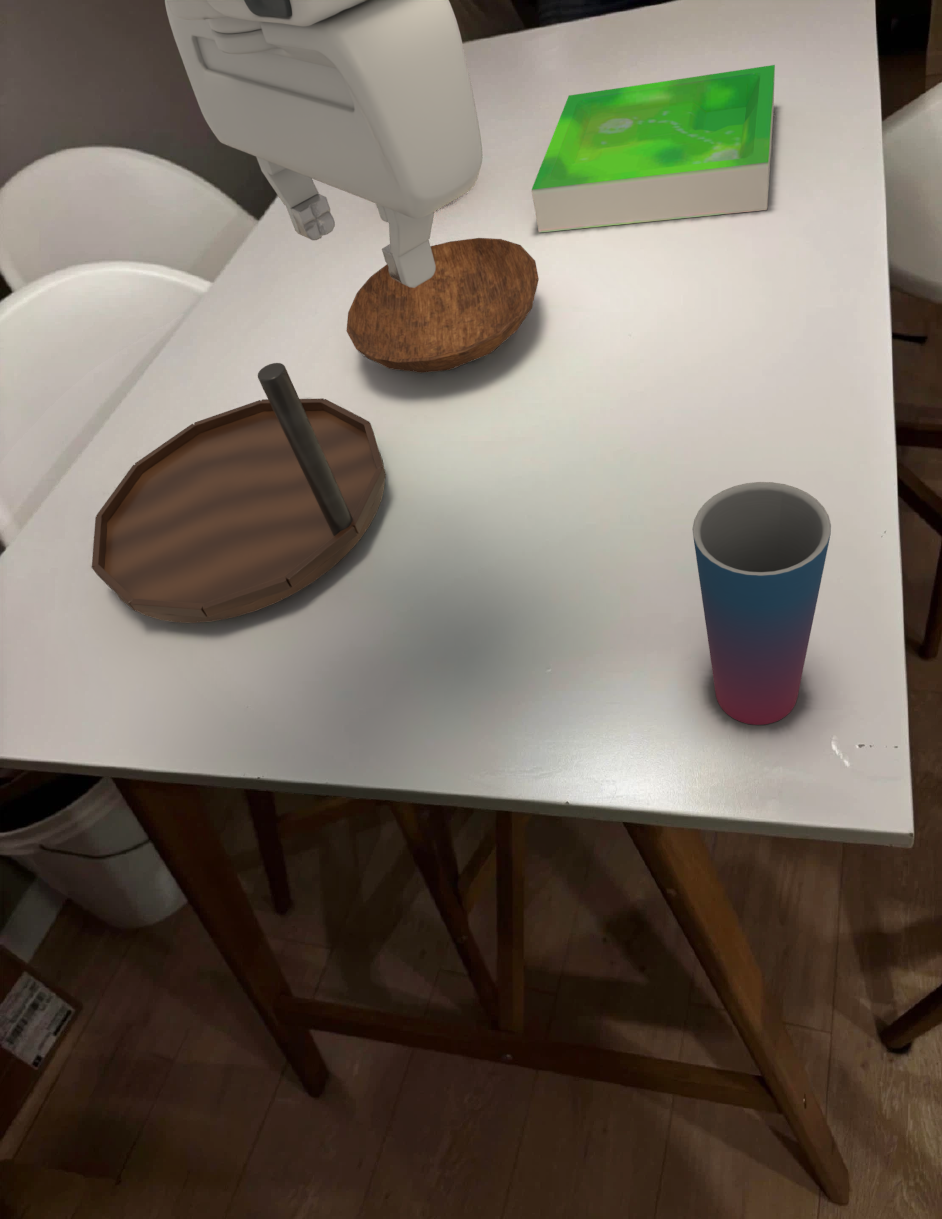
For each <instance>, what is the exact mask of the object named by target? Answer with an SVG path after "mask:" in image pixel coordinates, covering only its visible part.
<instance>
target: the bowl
mask: <svg viewBox="0 0 942 1219" xmlns="http://www.w3.org/2000/svg"><path fill="white" fill-rule="evenodd" d="M430 246H431V250H432V254H433V258H434V262H435V266H436V269H435V273H434V275H433V276H432V277H431V278H430V279H428V280H427V281H425V282H423V283H422V284H420V285H418V286H417V287H415V288H412V287H408V286H406V285H404V284H402V283H400V282H398V281H396V280H394V279H393V278H392V277H391V276H390V274H389V271H388V269H389V267H388V265H387V264H385V265H384V266H383V267H381V268H380V269H379V270H377V271H376V272H375V273H373V274H372V275H371V276H369V278H368V279H367V280H366V281H365V283H363V285H362V286H361V287H360V288H359V290H357V292H356V293H355V296H354V298H353V300H352V303H351V305H350V307H349V310H348V312H347V319H346V320H347V321H346V330H345V331H346V334H347V336H348V337H349V340H350V341H351V342H352V344H353V347H354V348H355V350H356V351H358V353H360V354H362V355H363V356H364V357H365V358H367V359H369V360H370V361H373V362H375V363H376V364H379V365H381V366H383V367H385V368H387V369H390V370H397V371H402V372H403V371H404V372H411V373H419V374H424V373H436V372H445V371H450V370H453V369H456V368H459V367H460V366H463V365H466V364H468V363H470V362H473V361H475V360H479V359H481V358H483V357H486V356H488V355H490V354H492V353H493V352H494V351H495V350H496V349H497V348H498V347H500V346H501V345H502V344H504V343H505V342H506V341H507V340H508V339H509V338H511V336H513V334H515V333H516V332H517V331H518V330H519V328H520V327H521V325H522V324H523V322H524V321H525V319H526V318H527V316H528V315H529V313H530V312H531V311H532V309H533V306H534V301H535V297H536V294H537V293H536V292H537V288H538V284H539V279H540V277H539V273H538V267H537V263H536V260H535V259H534V258H533V257H532V255H531V254H529V253H528V251H527V250H526V249H525V248H524V247H523V245H521V244H519V243H515V242H512V241H509V240H505V239H502V238H492V237H491V238H489V237H474V238H466V239H458V240H451V241H446V242H443V243H438V244H434V245H430Z"/></svg>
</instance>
